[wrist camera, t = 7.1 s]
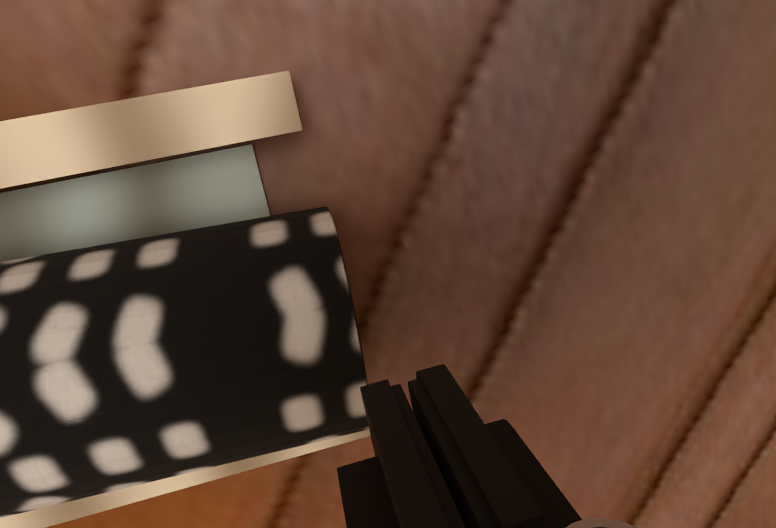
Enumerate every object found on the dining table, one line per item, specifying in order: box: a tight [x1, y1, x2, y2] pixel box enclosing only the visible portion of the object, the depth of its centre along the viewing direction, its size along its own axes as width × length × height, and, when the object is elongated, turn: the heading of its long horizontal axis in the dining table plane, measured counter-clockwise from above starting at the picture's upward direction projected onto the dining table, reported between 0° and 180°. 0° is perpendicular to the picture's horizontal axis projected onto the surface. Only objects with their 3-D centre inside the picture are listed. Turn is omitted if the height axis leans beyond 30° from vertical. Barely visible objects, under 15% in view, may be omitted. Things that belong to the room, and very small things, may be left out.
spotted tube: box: [0, 206, 369, 518], centre depth 18 cm, size 8×8×20 cm
